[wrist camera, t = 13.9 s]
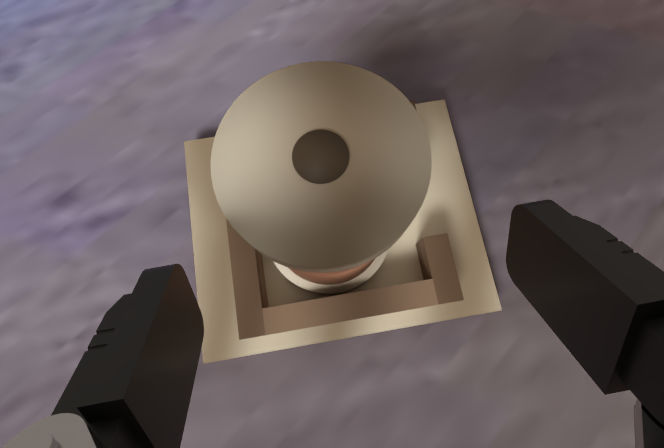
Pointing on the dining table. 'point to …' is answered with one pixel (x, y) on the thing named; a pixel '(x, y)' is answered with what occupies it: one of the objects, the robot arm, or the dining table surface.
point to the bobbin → (321, 171)
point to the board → (354, 306)
